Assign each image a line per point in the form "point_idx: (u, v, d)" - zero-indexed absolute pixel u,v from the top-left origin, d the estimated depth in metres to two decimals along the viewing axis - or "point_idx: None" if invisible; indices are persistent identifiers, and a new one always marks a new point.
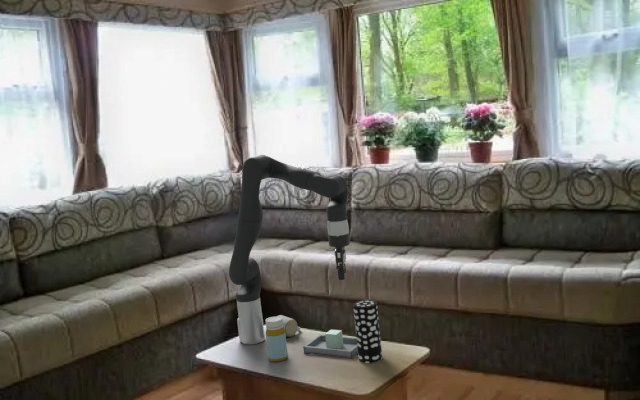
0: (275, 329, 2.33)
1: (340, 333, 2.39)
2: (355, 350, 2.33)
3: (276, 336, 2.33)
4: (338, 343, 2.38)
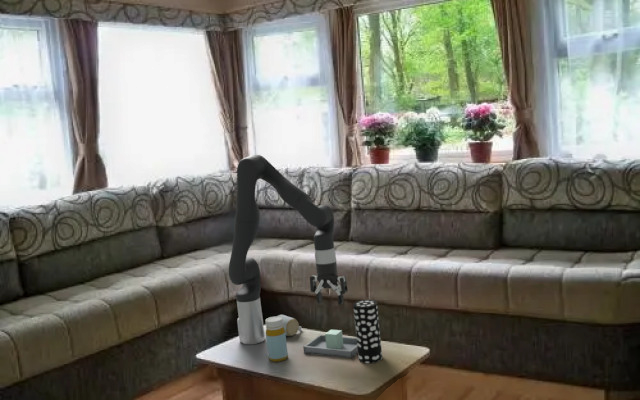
0: (275, 329, 2.33)
1: (340, 333, 2.39)
2: (355, 350, 2.33)
3: (276, 336, 2.33)
4: (338, 343, 2.38)
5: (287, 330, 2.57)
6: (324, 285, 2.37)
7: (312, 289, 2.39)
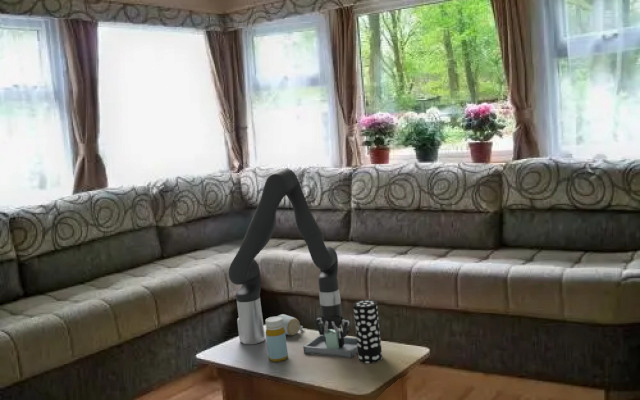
0: (275, 329, 2.33)
1: None
2: (355, 350, 2.33)
3: (276, 336, 2.33)
4: (338, 343, 2.38)
5: (288, 330, 2.57)
6: (329, 326, 2.39)
7: (321, 332, 2.41)
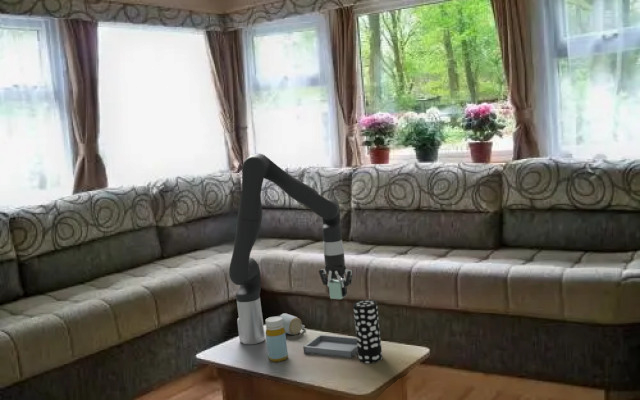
0: (275, 329, 2.33)
1: None
2: (355, 350, 2.33)
3: (276, 336, 2.33)
4: (341, 292, 2.45)
5: (290, 329, 2.58)
6: (332, 276, 2.46)
7: (324, 282, 2.48)
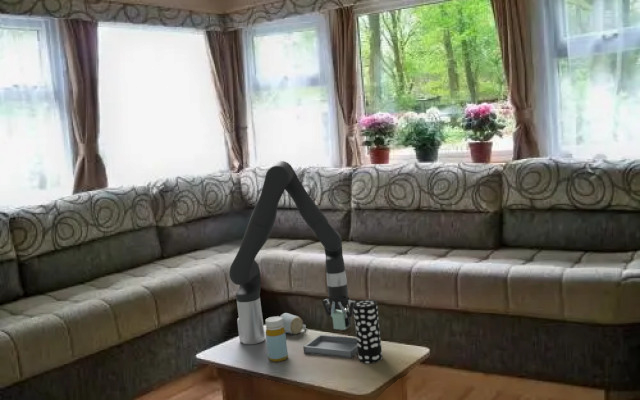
0: (275, 329, 2.33)
1: None
2: (355, 350, 2.33)
3: (276, 336, 2.33)
4: None
5: (291, 328, 2.58)
6: (335, 306, 2.48)
7: (328, 312, 2.50)
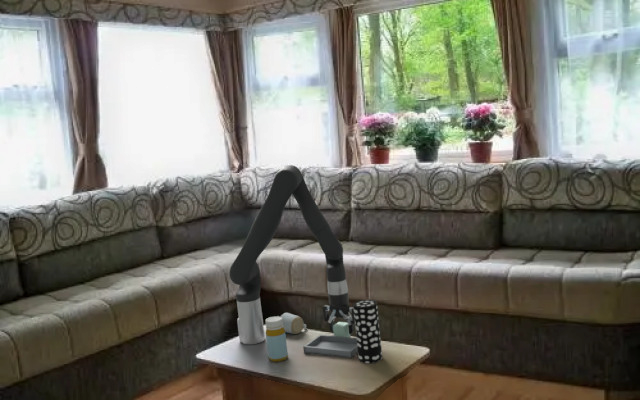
0: (275, 329, 2.33)
1: (347, 325, 2.49)
2: (355, 350, 2.33)
3: (276, 336, 2.33)
4: (345, 335, 2.48)
5: (292, 328, 2.58)
6: (336, 314, 2.48)
7: (325, 318, 2.51)
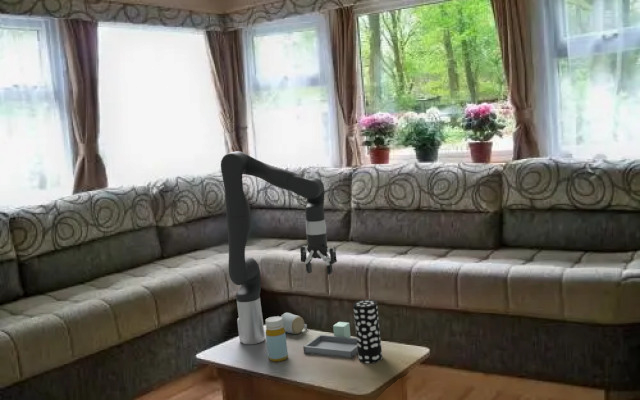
0: (275, 329, 2.33)
1: (347, 325, 2.49)
2: (355, 350, 2.33)
3: (276, 336, 2.33)
4: (345, 335, 2.48)
5: (293, 328, 2.59)
6: (314, 255, 2.45)
7: (302, 259, 2.48)
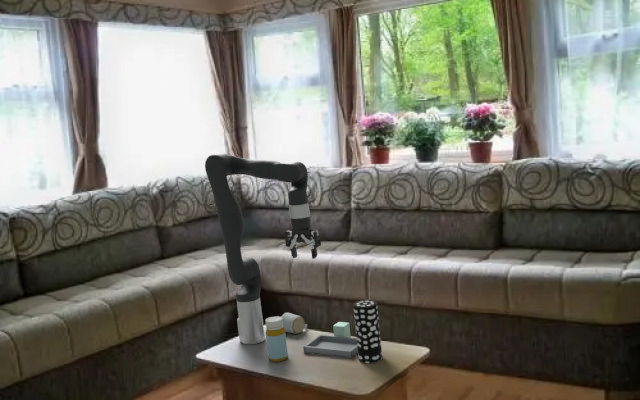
0: (275, 329, 2.33)
1: (347, 325, 2.49)
2: (355, 350, 2.33)
3: (276, 336, 2.33)
4: (345, 335, 2.48)
5: (293, 328, 2.59)
6: (298, 240, 2.45)
7: (287, 244, 2.47)
